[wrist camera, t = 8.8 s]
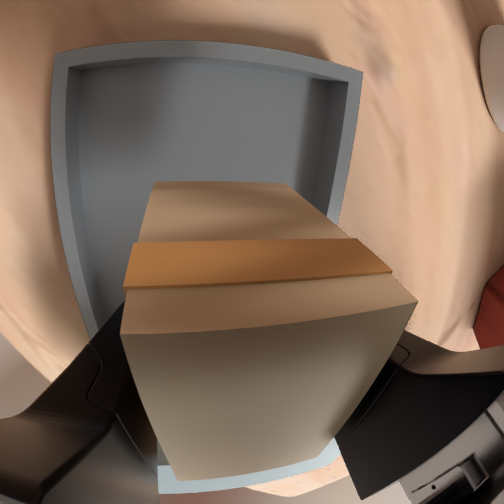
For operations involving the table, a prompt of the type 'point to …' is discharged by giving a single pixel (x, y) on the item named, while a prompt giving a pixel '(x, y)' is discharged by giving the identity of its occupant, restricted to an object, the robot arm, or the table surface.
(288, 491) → the table surface
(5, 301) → the table surface
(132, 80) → the parts tray
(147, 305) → the block
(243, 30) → the table surface
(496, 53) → the cylinder vase
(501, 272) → the plant pot
